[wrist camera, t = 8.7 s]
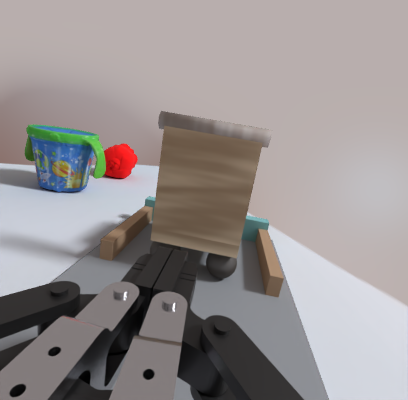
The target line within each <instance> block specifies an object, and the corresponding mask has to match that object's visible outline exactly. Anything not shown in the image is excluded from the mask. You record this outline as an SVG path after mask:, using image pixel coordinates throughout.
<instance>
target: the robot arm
mask: <svg viewBox="0 0 408 400" xmlns="http://www.w3.org/2000/svg"><path fill="white" fill-rule="evenodd" d="M187 255H188V252H185V251H181V250H176V249H174V250H173V249H171V248H166V247H161V246H159V247H158V248H157V250H156V251H155V253H154V254H153V255H152V254H148V253H147V254H145V255H143V256H141V257H139V258H138V259H137V261H136V262H135V264H134V265H133V266H132V267H131V268H130V270H129V271H128V272H127V274H126V275H125V276H124V277H123V279H122V280H121V281H120V282H115V283H112V284H109V285H108V286H106V287H105V288H104V289H103V290H102V291H101V292H100V293H99V294H80V287H79V285H78V284H76V283H74V282H71V281H57V282H53V283H49V284H46V285H42V286H38V287H35V288H31V289H28V290H24V291H20V292H17V293H13V294H9V295H6V296H2V297H0V339H2V338H4V337H7V336H10V335H13V334H15V333H18V332H21V331H23V330H26V329H29V328H32V327H34V326H37V337H35V338H32V339H30V340H27V341H25V342H22V343H19V344H17V345H14V346H12V347H9V348H7V349H4V350H2V351H0V400H173V399H174V392H175V386H176V379H177V377H178V378H180V379H181V380H183V381H184V382H186V383H188V384H189V385H190V391H191V395H192V397H193V399H194V400H304V399H303V398H302V397H301V395H300V394H299V393H298V392H297V391H296V390H295V389H294V388H293V386H292V385H291V384H290V383H289V382H288V381H287V380H286V379H285V377H284V376H283V375H282V374H281V373H280V372H279V371H278V370H277V368H276V367H275V366H274V365H273V364H272V363H271V362H270V361H269V359H268V358H267V357H266V356H265V355H264V354H263V353H262V352H261V350H260V349H259V348H258V347H257V346H256V345H255V344H254V343H253V341H252V340H251V339H250V338H249V337H248V336H247V335H246V334H245V332H244V331H243V330H242V329H241V328H240V327H239V326H238V325H237V323H235V322H234V321H233V320H232V319H230V318H228V317H225V316H222V315H212V316H209V317H207V318H206V319H205V320H204V319H202V318H200V317H199V316H197V315H196V314H195V313H194V312H193V311H192V310H191V308H190V307H191V303H192V299H193V295H194V290H195V284H196V278H197V273H198V268H197V266H196V264H195V263H191V262H187ZM116 380H117V381H116ZM115 381H116V383H115ZM114 383H115V386H114V388H113V390H111V388H112V387H113V385H114Z"/></svg>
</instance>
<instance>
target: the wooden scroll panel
mask: <svg viewBox="0 0 408 400" xmlns="http://www.w3.org/2000/svg"><path fill="white" fill-rule="evenodd" d="M158 124H159V128H160V129H164V134H163V141H162V150H161V158H160V166H159V174H158V182H157V191H156V199H155V207H154V215H153V224H152V232H151V240H152V241H153V242H152V244H151V247H150V254H152V255H153V254H154V253H155V251H156V250H157V248H158V247H159V246H161V247H166V248H171V249H173V250H174V249H176V250H181V248H180V247H185V248H190V249H195V250H199V251H204V252H209V254H208V255H207V258H206V267H207V269H208V271H209V273H210V274H211V275H212V276H214V277H216V278H220V279H224V278H227V277H229V276H231V275H232V274H233V273H234V272H235V270H236V267H237V259H236V258H237V255H238V251H239V246H240V242H241V237H242V233H243V229H244V224H245V220H246V215H247V211H248V206H249V201H250V197H251V193H252V188H253V184H254V179H255V175H256V170H257V166H258V162H259V157H260V152H261V148H262V147H268V145H269V142H270V138H271V132H272V130H269V129H263V128H257V127H252V126H245V125H240V124H234V123H228V122H222V121H216V120H211V119H205V118H199V117H193V116H187V115H181V114H175V113H169V112H163V111H161V113H160V115H159V122H158Z"/></svg>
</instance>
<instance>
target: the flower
mask: <svg viewBox="0 0 408 400" xmlns="http://www.w3.org/2000/svg"><path fill="white" fill-rule="evenodd" d="M104 155H105V162H106V171H105V175H107V176H110V177H114V178H126V177H127V176H129V175H130V174H131V170H132V168H134V167H135V164H136V162H137V156H136V155H135V154H134V151H133V150H132V149H131V148H130V147H129V146H128V145H127V144H121V145H114V146H113V147H110V148H108V149H106V150H105V151H104Z"/></svg>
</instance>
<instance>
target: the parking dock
mask: <svg viewBox="0 0 408 400" xmlns="http://www.w3.org/2000/svg"><path fill="white" fill-rule="evenodd" d="M155 199H156V198H155V197H150V196H149V197H148V198H146V199H145V206H144V207H143V208H141V209H140V210H139V211H137V212H136V213H135V214H133V215H132V216H131V217H130V218H128V219H127V220H126V221H124V222H123V223H122V224H120V225H119V226H118V227H116V228H115V229H114V230H113V231H111V232H110V233H109V234H107V235H106V236H105V237H103V238H102V239H101V244H100V245H98V246H97V247H96V248H94V249H93V250H92V251H91V252H89V253H88V254H87V255H86V256H84V257H83V258H82V259H81V260H79V261H78V262H77V263H76V264H74V265H73V266H72V267H71V268H69V269H68V270H67V271H66V272H64V273H63V274H62V275H61V276H59V277H58V278H57V279H55V280H54V281H53V282H57V281H71V282H74V283H76V284H78V285H79V287H80V294H99V293H100V292H101V291H102V290H103V289H104V288H105V287H106V286H108V285H109V284H112V283H115V282H120V281H121V280H122V279H123V277H124V276H125V275H126V274H127V272H128V271H129V270H130V268H131V267H132V266H133V265H134V264H135V262H136V261H137V259H138V258H139V257H141V256H143V255H145V254H147V253H148V254H150V247H151V244H152V242H153V241H152V240H151V232H152V224H153V215H154V207H155ZM268 226H269V222H268V220H267V219H262V218H257V217H252V216H247V215H246V220H245V224H244V229H243V233H242V237H241V242H240V246H239V251H238V255H237V258H236V259H237V267H236V270H235V272H234V273H233V274H232V275H231V276H229V277H227V278H224V279H220V278H216V277H214V276H212V275H211V274H210V273H209V271H208V269H207V267H206V258H207V255H208V254H209V252H204V251H199V250H195V249H190V248H185V247H180V248H181V251H185V252H188V255H187V262H191V263H195V264H196V266H197V268H198V273H197V278H196V284H195V290H194V295H193V299H192V303H191V307H190V308H191V310H192V311H193V312H194V313H195V314H196V315H197V316H199V317H200V318H202V319H204V320H205V319H206V318H207V317H209V316H212V315H222V316H225V317H228V318H230V319H232V320H233V321H234V322H235V323H237V325H238V326H239V327H240V328H241V329H242V330H243V331H244V332H245V334H246V335H247V336H248V337H249V338H250V339H251V340H252V341H253V343H254V344H255V345H256V346H257V347H258V348H259V349H260V350H261V352H262V353H263V354H264V355H265V356H266V357H267V358H268V359H269V361H270V362H271V363H272V364H273V365H274V366H275V367H276V368H277V370H278V371H279V372H280V373H281V374H282V375H283V376H284V377H285V379H286V380H287V381H288V382H289V383H290V384H291V385H292V386H293V388H294V389H295V390H296V391H297V392H298V393H299V394H300V395H301V397H302V398H303V399H304V400H329V398H328V395H327V392H326V390H325V387H324V384H323V381H322V378H321V376H320V373H319V370H318V367H317V364H316V362H315V359H314V356H313V353H312V350H311V348H310V345H309V342H308V339H307V336H306V334H305V331H304V328H303V325H302V322H301V319H300V317H299V314H298V311H297V308H296V305H295V303H294V300H293V297H292V294H291V291H290V289H289V286H288V283H287V280H286V277H285V275H284V272H283V269H282V266H281V263H280V261H279V258H278V255H277V252H276V249H275V247H274V244H273V241H272V240H271V239H270V236H269V234H268V231H267V230H268ZM53 282H52V283H53ZM35 337H37V326H34V327H32V328H29V329H26V330H23V331H21V332H18V333H15V334H13V335H10V336H7V337H4V338H2V339H0V351H2V350H4V349H7V348H9V347H12V346H14V345H17V344H19V343H22V342H25V341H27V340H30V339H32V338H35ZM116 381H117V380H116ZM116 381H115V383H116ZM115 383H114V385H113V387H112V388H111V390H113V388H114V386H115ZM173 400H194V399H193V397H192V395H191V391H190V385H189V384H188V383H186V382H184V381H183V380H181V379H180V378H178V377H177V379H176V386H175V392H174V399H173Z"/></svg>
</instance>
